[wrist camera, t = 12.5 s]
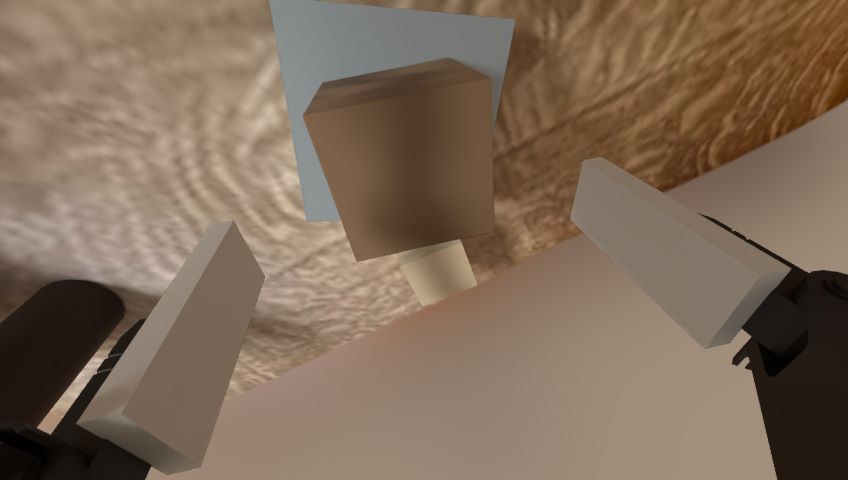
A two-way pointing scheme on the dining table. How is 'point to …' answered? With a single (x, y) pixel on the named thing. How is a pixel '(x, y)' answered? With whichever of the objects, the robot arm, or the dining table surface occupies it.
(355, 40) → the slate block
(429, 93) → the walnut cube
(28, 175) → the dining table surface
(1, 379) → the bottle
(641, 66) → the dining table surface
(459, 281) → the maple cube
